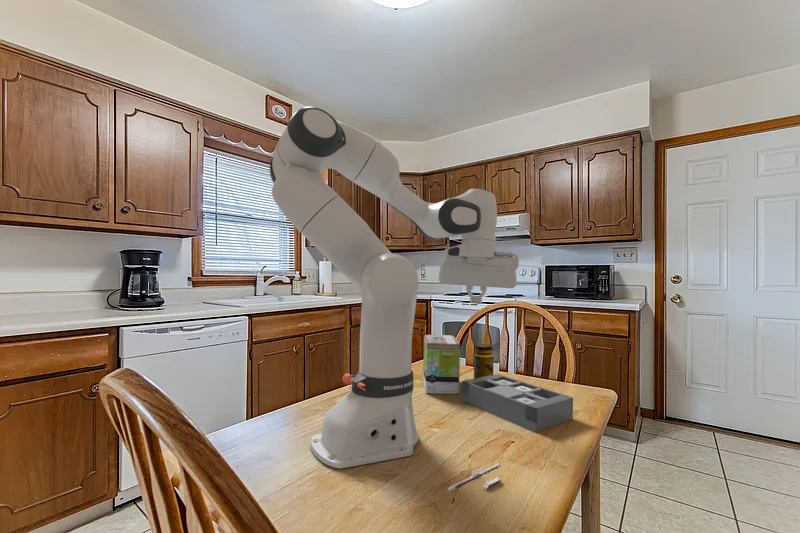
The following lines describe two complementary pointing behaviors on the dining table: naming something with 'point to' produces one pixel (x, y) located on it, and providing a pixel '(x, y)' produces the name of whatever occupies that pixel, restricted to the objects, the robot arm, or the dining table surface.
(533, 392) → the key cream
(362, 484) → the dining table surface
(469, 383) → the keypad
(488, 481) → the picture light
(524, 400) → the key sage
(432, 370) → the tea box
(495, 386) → the key grey
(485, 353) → the condiment
